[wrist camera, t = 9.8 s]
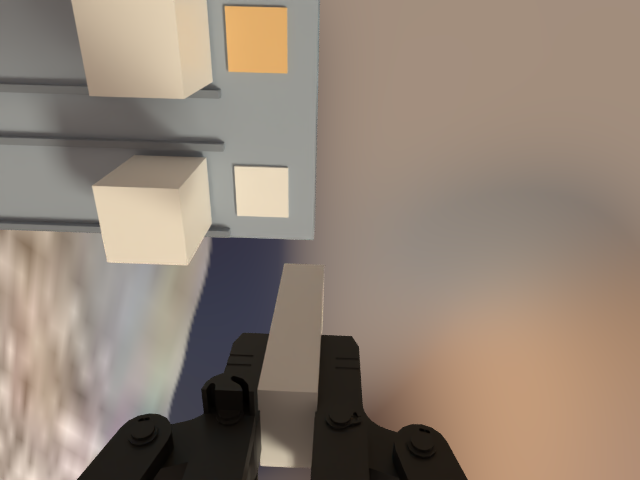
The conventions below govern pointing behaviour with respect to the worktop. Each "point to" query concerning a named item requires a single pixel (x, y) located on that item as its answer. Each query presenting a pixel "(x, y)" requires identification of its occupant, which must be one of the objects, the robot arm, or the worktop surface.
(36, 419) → the worktop surface
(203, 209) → the tab
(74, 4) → the tab
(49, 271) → the worktop surface
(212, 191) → the switch bank
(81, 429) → the worktop surface
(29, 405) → the worktop surface
